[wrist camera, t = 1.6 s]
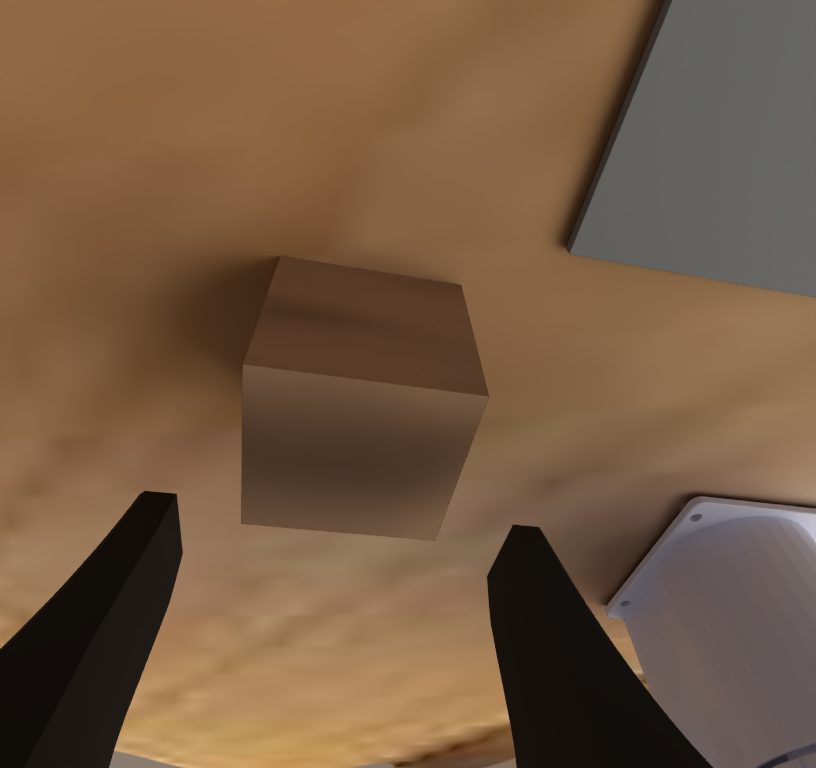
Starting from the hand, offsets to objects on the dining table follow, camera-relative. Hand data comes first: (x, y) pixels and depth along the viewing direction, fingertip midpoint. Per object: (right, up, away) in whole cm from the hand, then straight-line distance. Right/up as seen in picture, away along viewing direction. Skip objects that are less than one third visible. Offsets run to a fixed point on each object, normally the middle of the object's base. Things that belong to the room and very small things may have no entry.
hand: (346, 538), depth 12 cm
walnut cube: (0, +5, +6) cm, 8 cm away
